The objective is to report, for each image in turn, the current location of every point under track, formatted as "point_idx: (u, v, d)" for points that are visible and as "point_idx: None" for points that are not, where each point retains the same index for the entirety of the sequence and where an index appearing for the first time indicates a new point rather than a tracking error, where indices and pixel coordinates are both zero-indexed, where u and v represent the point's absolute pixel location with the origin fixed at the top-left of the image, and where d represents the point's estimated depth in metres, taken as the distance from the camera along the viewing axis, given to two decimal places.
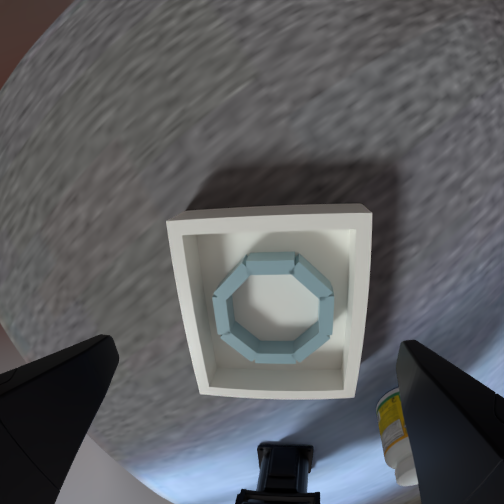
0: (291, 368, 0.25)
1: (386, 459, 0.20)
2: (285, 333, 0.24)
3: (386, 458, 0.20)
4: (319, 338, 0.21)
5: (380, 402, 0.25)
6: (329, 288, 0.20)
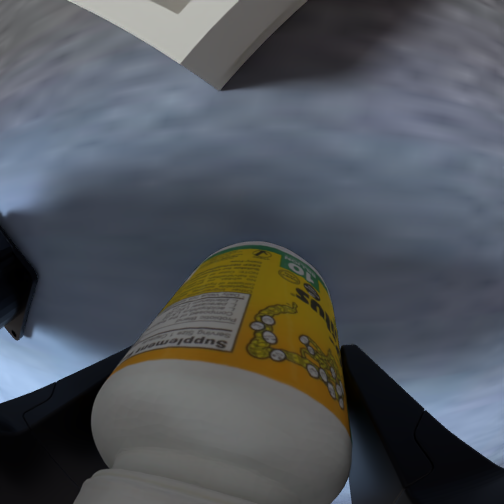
0: None
1: (94, 405, 0.04)
2: None
3: (96, 400, 0.04)
4: None
5: (219, 251, 0.10)
6: None
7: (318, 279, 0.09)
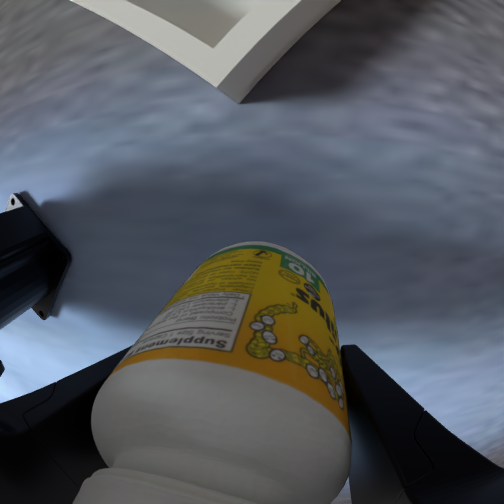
0: None
1: (94, 404, 0.05)
2: None
3: (95, 400, 0.05)
4: None
5: (220, 251, 0.10)
6: None
7: (318, 279, 0.09)
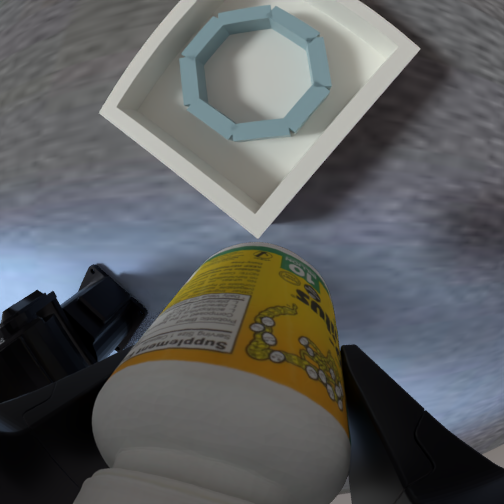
0: (210, 161, 0.19)
1: (95, 405, 0.05)
2: (239, 111, 0.18)
3: (96, 400, 0.05)
4: (278, 125, 0.16)
5: (220, 251, 0.10)
6: (330, 82, 0.15)
7: (319, 280, 0.09)
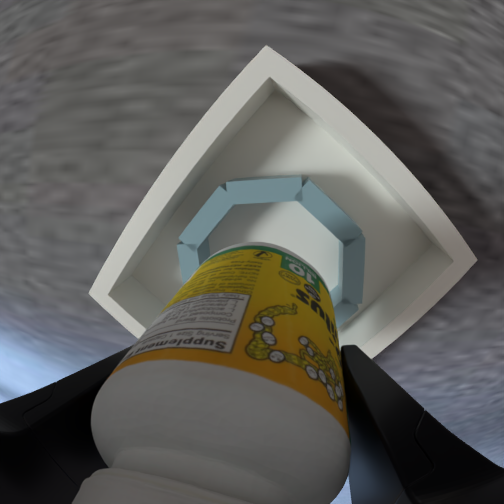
0: None
1: (94, 405, 0.05)
2: None
3: (95, 400, 0.05)
4: None
5: (220, 251, 0.10)
6: None
7: (319, 280, 0.09)
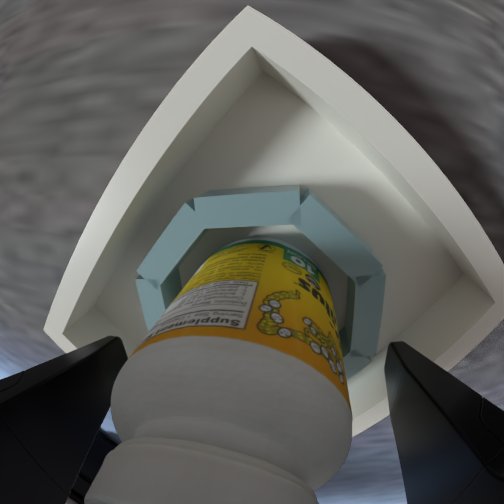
0: None
1: (115, 384, 0.05)
2: None
3: (117, 379, 0.05)
4: None
5: (226, 246, 0.11)
6: None
7: (318, 271, 0.10)
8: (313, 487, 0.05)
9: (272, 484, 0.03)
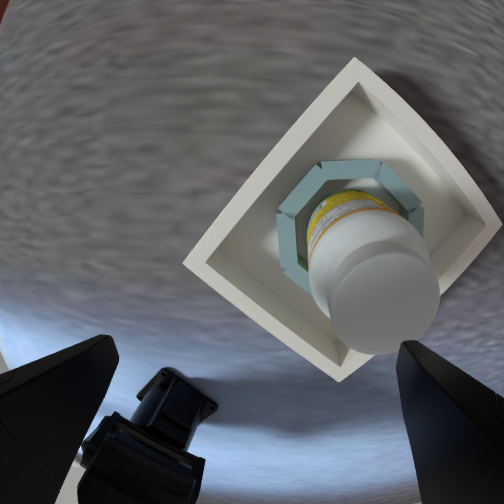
0: (296, 307, 0.20)
1: (323, 241, 0.11)
2: None
3: (325, 238, 0.11)
4: None
5: (332, 193, 0.17)
6: None
7: None
8: None
9: (417, 252, 0.09)
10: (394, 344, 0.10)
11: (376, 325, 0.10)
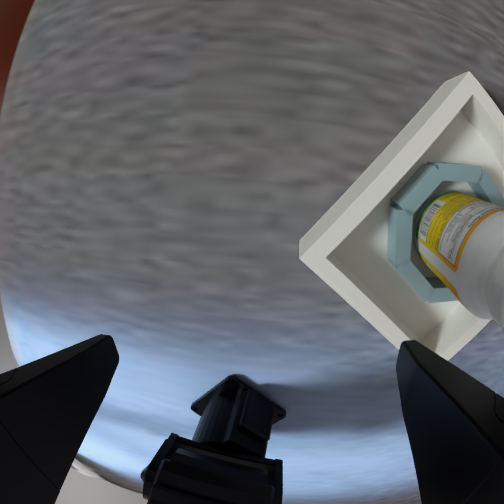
0: (391, 305, 0.19)
1: (478, 236, 0.10)
2: None
3: (479, 234, 0.10)
4: None
5: (439, 193, 0.16)
6: None
7: None
8: None
9: None
10: None
11: None
